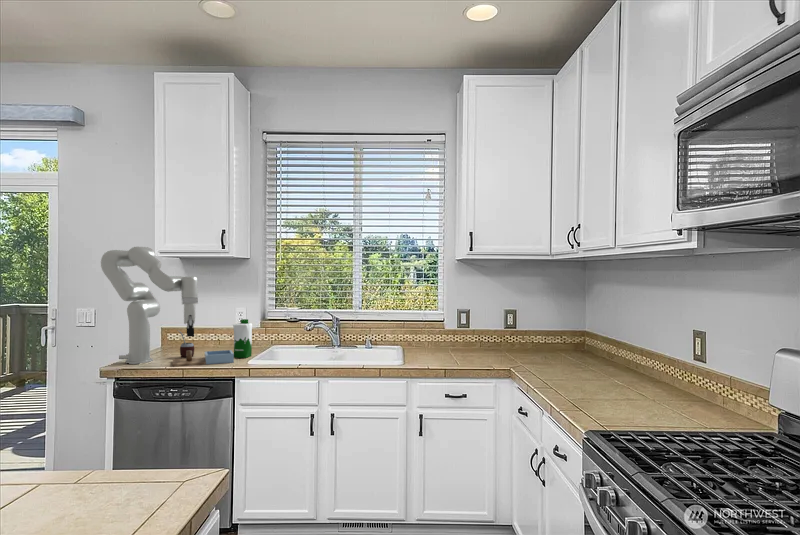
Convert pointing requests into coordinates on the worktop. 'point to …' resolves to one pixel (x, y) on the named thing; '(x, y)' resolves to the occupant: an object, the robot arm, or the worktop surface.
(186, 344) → the mate gourd
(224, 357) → the dish
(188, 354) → the lid
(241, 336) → the milk carton
